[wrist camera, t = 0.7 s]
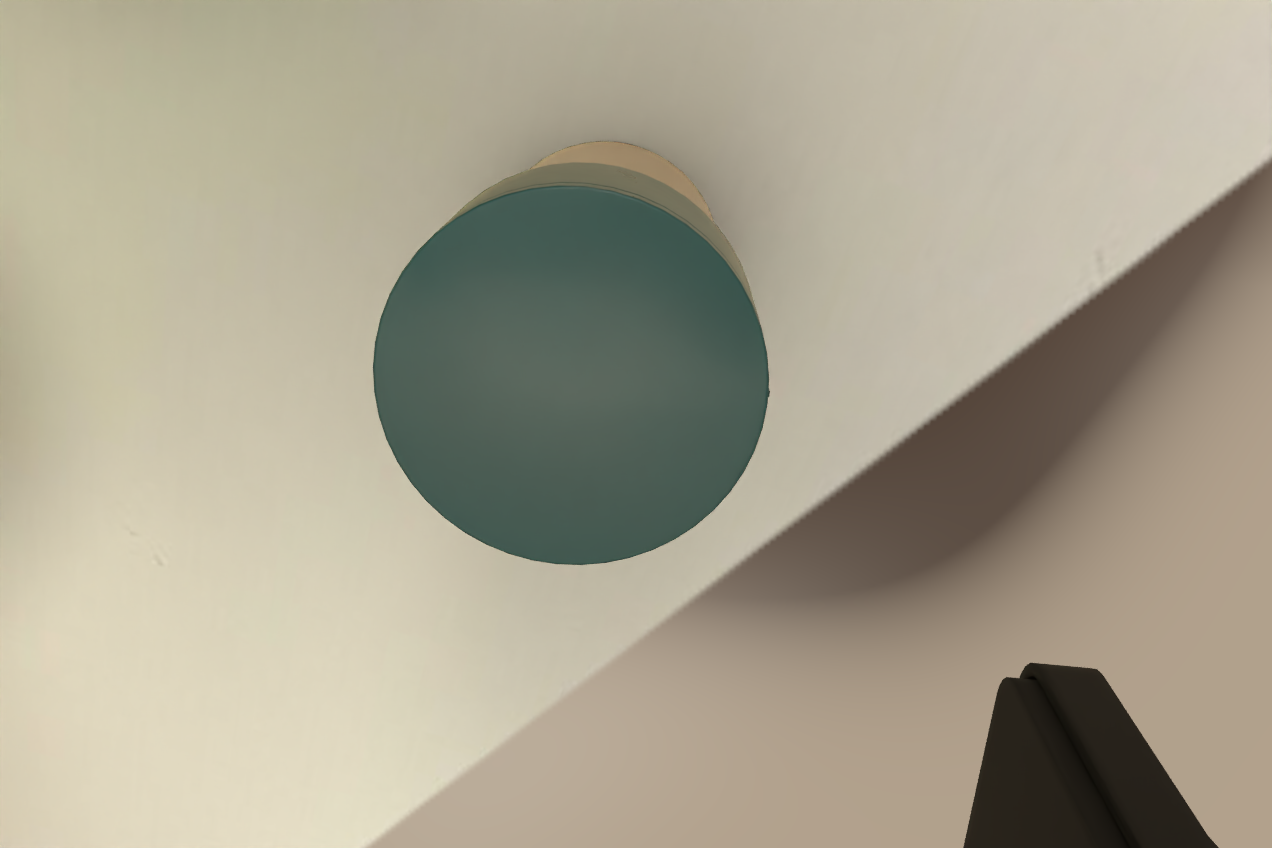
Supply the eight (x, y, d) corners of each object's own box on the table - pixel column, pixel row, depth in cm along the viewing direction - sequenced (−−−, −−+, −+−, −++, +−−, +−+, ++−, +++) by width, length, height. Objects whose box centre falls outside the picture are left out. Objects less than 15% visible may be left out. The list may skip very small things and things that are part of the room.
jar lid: (781, 180, 22) (798, 207, 19) (738, 511, 25) (748, 583, 22) (416, 145, 22) (375, 166, 19) (407, 480, 25) (369, 547, 22)
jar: (731, 151, 30) (762, 224, 20) (706, 375, 32) (721, 547, 22) (497, 130, 30) (407, 190, 20) (486, 355, 32) (398, 517, 22)
